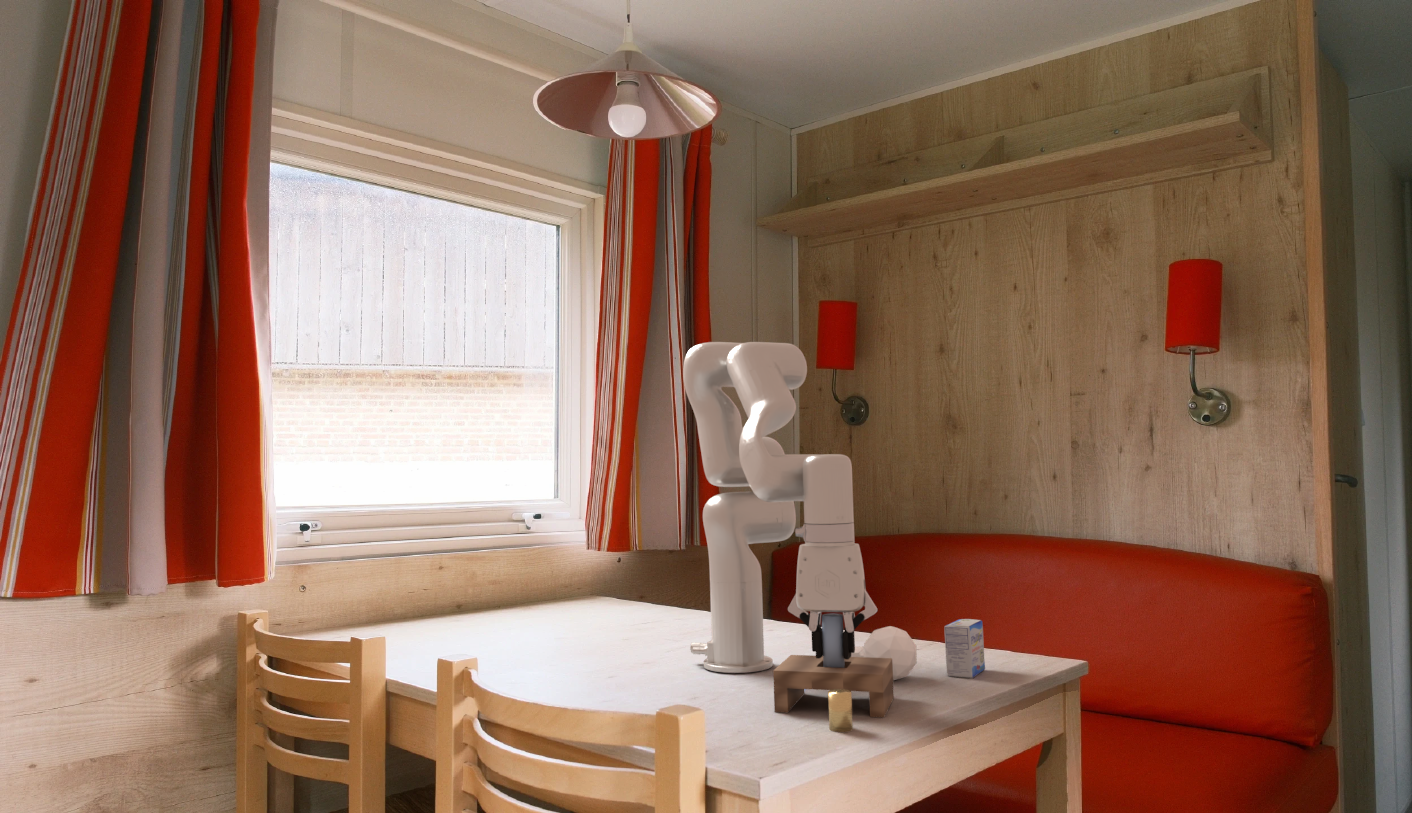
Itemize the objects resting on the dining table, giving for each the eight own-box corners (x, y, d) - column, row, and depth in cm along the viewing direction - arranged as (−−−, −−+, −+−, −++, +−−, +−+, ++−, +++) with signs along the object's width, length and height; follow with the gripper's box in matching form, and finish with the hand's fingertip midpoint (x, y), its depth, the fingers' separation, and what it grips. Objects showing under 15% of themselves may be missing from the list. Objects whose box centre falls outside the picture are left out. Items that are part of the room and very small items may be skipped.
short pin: (827, 731, 127) (825, 693, 128) (831, 725, 130) (830, 688, 131) (850, 732, 126) (849, 694, 127) (854, 726, 129) (853, 689, 130)
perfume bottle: (932, 664, 159) (869, 666, 166) (916, 615, 158) (854, 618, 165) (913, 690, 152) (848, 691, 159) (896, 638, 151) (832, 641, 159)
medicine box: (972, 679, 156) (969, 626, 157) (946, 676, 159) (943, 624, 159) (985, 670, 163) (983, 619, 164) (960, 667, 165) (957, 617, 166)
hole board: (774, 711, 138) (773, 670, 139) (792, 692, 150) (790, 654, 150) (884, 717, 133) (882, 674, 134) (893, 697, 145) (892, 658, 145)
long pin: (821, 677, 141) (819, 616, 141) (825, 672, 144) (823, 613, 144) (843, 677, 140) (840, 616, 140) (846, 673, 143) (844, 613, 143)
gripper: (770, 537, 142) (774, 660, 141) (881, 536, 137) (886, 664, 136) (782, 533, 149) (785, 650, 148) (887, 533, 144) (892, 654, 143)
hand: (833, 655), depth 142 cm, fingers open, 3 cm apart
